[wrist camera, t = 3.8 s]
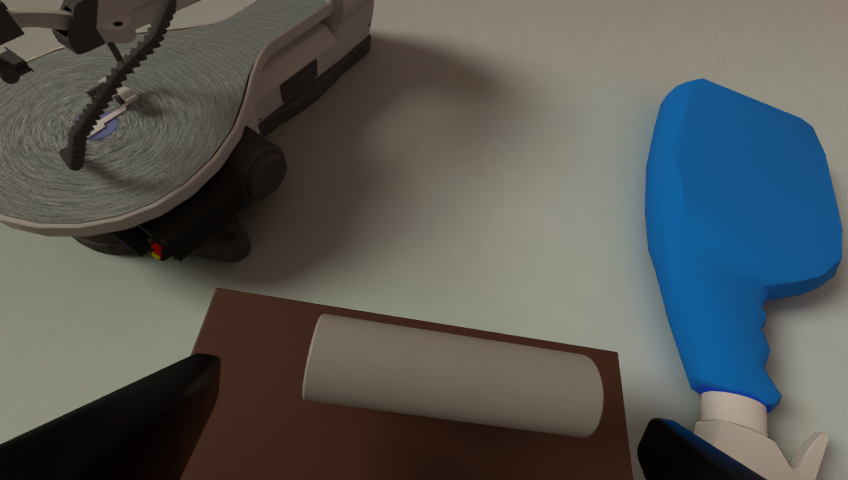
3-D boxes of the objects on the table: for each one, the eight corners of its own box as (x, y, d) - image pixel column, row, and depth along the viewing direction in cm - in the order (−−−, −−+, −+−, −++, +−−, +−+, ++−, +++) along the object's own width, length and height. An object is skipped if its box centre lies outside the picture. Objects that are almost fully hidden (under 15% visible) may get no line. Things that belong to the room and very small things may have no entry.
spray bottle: (675, 62, 26) (646, 489, 14) (835, 127, 25) (941, 611, 14) (645, 98, 28) (599, 481, 17) (790, 156, 28) (846, 584, 16)
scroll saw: (253, -254, 17) (478, -137, 16) (284, -9, 26) (428, 78, 25) (-506, -132, 8) (-102, 185, 6) (-45, 184, 17) (159, 340, 16)
